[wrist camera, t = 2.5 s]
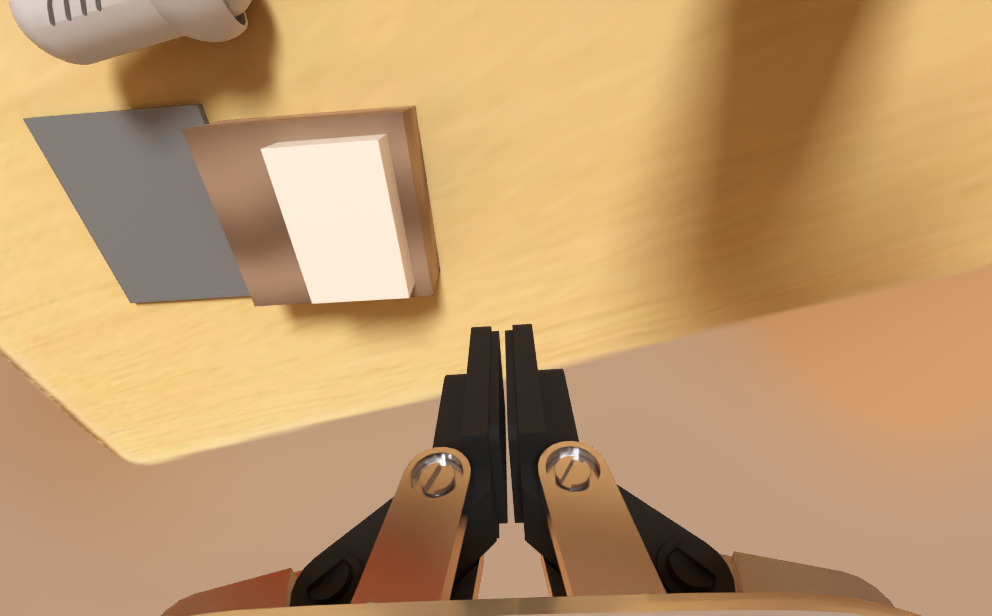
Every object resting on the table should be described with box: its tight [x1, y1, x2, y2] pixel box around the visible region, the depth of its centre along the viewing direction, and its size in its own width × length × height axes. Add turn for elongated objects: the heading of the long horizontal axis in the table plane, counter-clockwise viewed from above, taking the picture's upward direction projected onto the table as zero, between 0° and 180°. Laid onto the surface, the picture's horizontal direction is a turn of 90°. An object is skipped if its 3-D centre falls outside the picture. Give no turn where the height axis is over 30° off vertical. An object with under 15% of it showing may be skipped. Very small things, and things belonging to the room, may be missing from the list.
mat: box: [23, 104, 250, 303], centre depth 29 cm, size 13×11×1 cm
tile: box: [261, 134, 415, 304], centre depth 24 cm, size 9×6×2 cm, turn 4°
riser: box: [182, 106, 440, 306], centre depth 27 cm, size 11×12×4 cm
